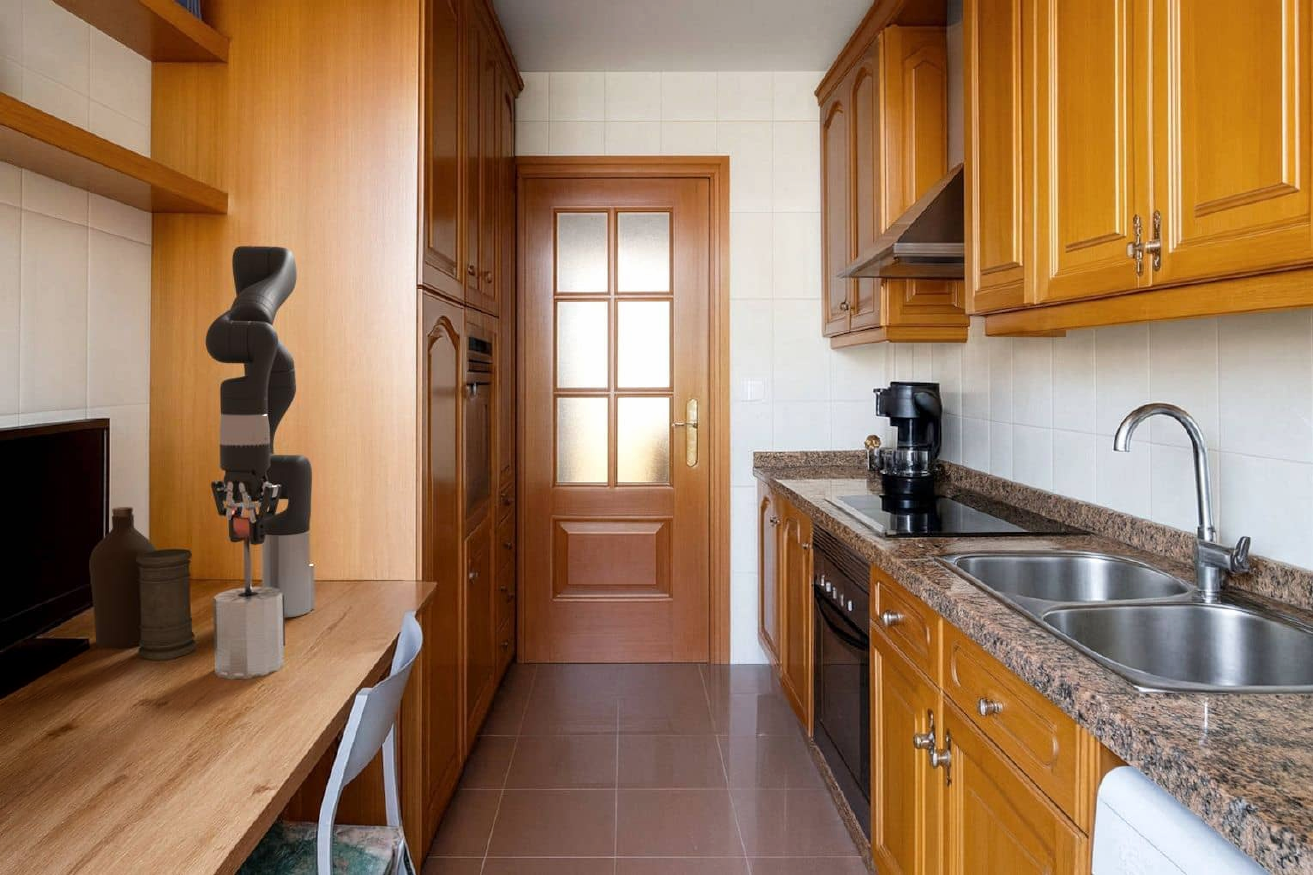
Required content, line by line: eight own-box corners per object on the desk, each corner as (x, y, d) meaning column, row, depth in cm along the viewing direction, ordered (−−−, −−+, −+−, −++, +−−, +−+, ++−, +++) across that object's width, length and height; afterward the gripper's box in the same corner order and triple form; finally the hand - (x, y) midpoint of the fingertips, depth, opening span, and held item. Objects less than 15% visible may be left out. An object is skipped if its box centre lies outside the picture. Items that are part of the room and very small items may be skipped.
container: (169, 662, 141) (166, 560, 139) (125, 658, 142) (122, 556, 141) (207, 646, 149) (205, 549, 148) (165, 642, 151) (163, 546, 150)
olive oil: (87, 653, 144) (82, 514, 142) (97, 636, 154) (93, 505, 152) (156, 646, 149) (152, 510, 147) (163, 629, 158) (159, 502, 157)
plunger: (250, 608, 142) (248, 512, 141) (281, 613, 140) (280, 515, 138) (214, 619, 136) (212, 518, 135) (246, 625, 133) (244, 522, 132)
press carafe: (260, 652, 146) (258, 582, 146) (303, 660, 143) (302, 588, 142) (201, 673, 136) (199, 598, 135) (246, 683, 132) (245, 605, 131)
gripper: (295, 441, 136) (296, 542, 138) (233, 438, 142) (235, 535, 143) (258, 444, 129) (260, 551, 131) (194, 440, 135) (196, 543, 136)
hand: (247, 542), depth 137 cm, fingers closed on plunger, 4 cm apart
